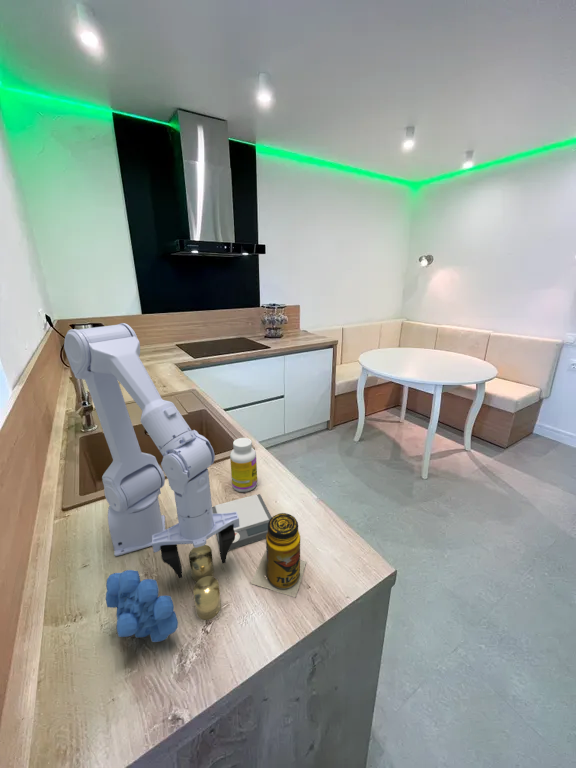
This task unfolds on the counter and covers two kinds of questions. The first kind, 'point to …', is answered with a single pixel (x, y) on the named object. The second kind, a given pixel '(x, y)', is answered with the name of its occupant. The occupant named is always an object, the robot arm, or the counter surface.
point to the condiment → (281, 557)
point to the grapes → (140, 607)
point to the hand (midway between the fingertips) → (202, 566)
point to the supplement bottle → (243, 465)
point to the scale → (247, 519)
